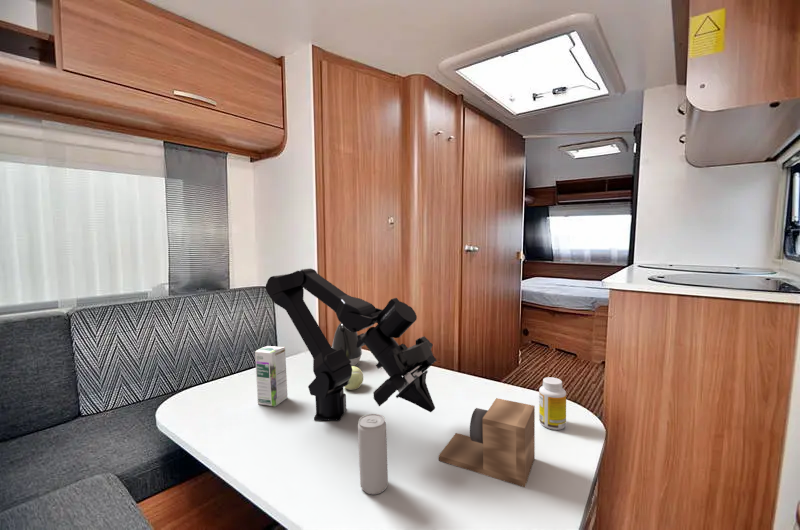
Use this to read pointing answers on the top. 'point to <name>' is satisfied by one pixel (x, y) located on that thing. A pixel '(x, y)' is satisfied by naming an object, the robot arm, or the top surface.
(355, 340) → the dark grey ovoid
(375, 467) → the beverage can
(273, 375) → the syrup box
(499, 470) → the mount
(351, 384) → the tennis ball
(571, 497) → the top surface
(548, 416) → the supplement bottle
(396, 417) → the top surface
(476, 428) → the knob
